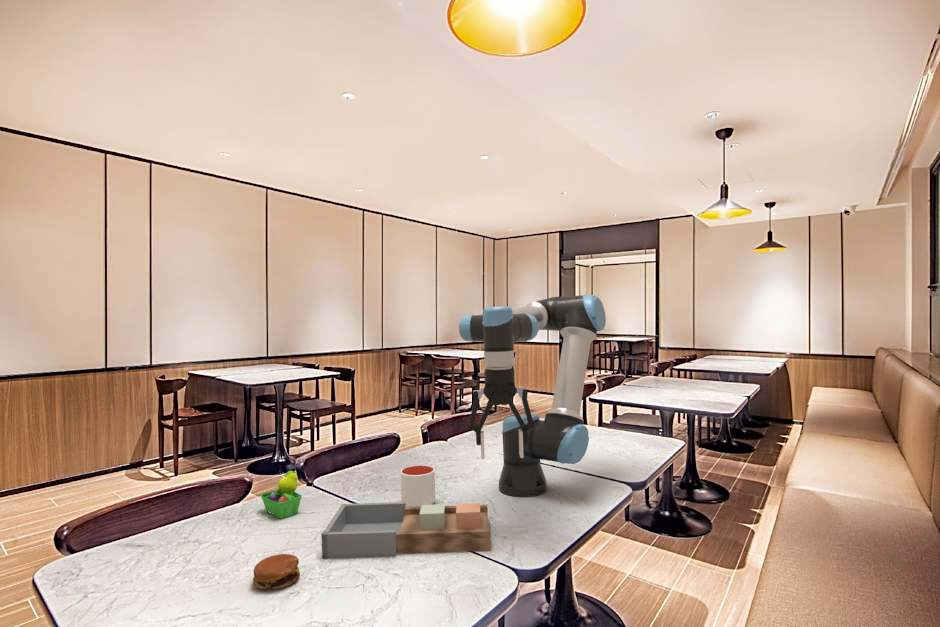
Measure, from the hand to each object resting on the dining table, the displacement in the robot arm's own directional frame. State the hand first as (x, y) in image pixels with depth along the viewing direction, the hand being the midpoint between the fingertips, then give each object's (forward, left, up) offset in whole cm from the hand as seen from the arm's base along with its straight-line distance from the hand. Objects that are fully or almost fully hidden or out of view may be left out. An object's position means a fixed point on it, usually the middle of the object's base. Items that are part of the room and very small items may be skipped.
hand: (502, 457), depth 128 cm
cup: (+24, -23, -20) cm, 39 cm away
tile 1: (+18, 0, -16) cm, 24 cm away
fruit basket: (+63, -20, -20) cm, 69 cm away
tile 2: (+9, 0, -16) cm, 19 cm away
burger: (+50, +19, -20) cm, 57 cm away
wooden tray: (+15, 0, -19) cm, 25 cm away
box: (+35, 0, -19) cm, 40 cm away
